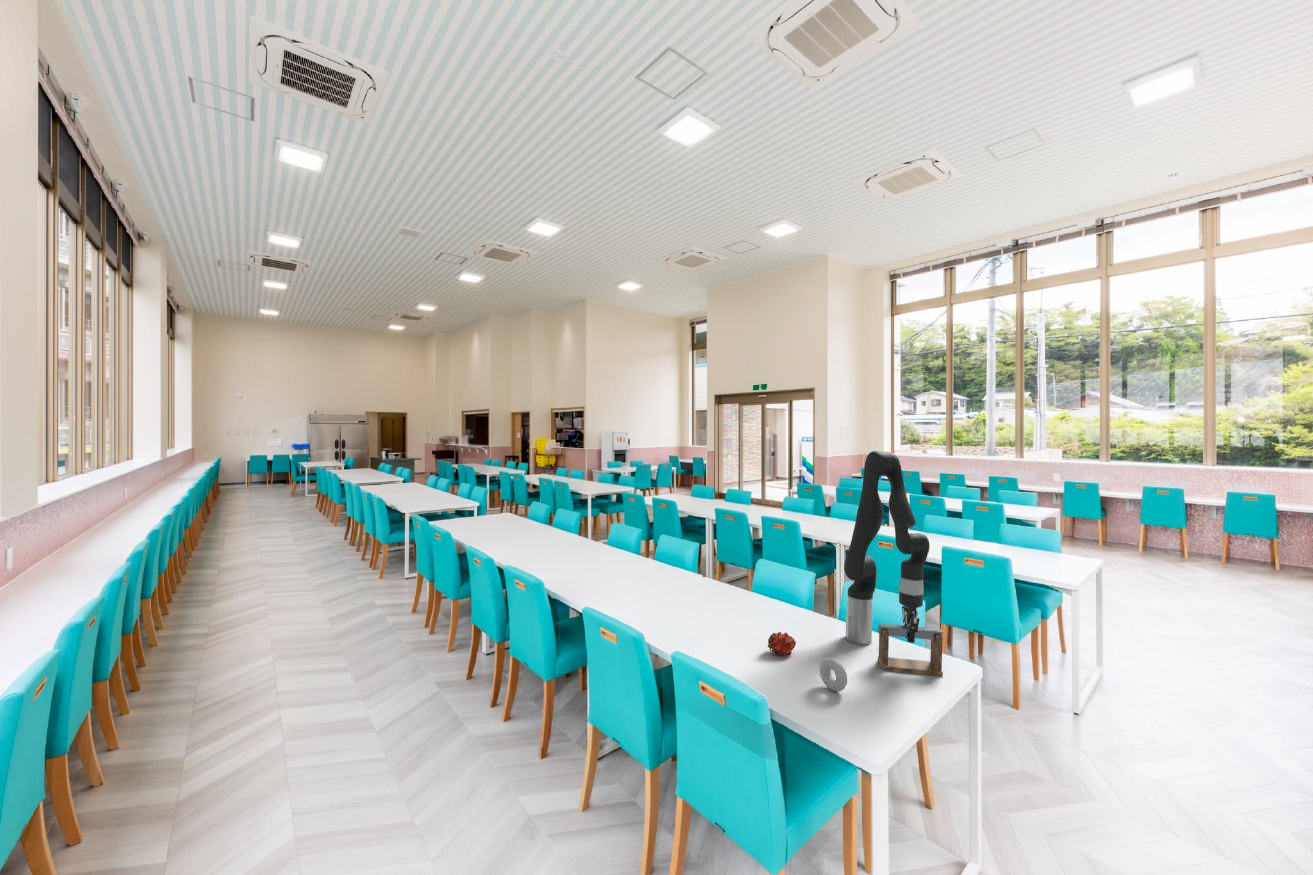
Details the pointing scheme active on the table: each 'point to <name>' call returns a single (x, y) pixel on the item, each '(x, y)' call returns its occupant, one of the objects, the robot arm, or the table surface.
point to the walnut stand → (907, 664)
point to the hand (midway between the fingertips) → (909, 639)
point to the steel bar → (902, 631)
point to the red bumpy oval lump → (781, 643)
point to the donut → (839, 672)
